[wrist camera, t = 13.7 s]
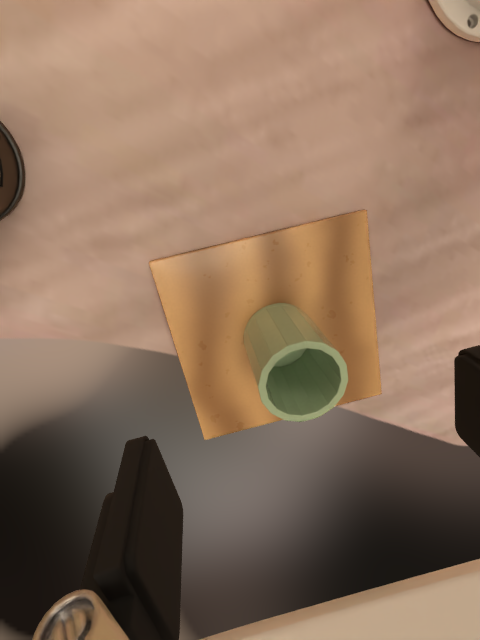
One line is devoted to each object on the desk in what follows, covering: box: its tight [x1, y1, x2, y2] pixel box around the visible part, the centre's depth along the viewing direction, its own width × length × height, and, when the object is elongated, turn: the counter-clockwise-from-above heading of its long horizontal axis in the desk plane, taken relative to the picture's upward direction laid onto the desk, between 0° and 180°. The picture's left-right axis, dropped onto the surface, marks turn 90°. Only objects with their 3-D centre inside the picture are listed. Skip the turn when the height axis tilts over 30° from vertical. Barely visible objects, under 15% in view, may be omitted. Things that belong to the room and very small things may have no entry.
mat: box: [149, 210, 381, 440], centre depth 37 cm, size 20×20×1 cm
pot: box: [243, 303, 348, 422], centre depth 33 cm, size 7×7×9 cm
